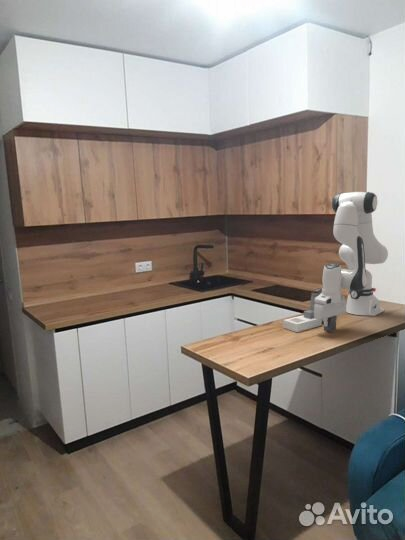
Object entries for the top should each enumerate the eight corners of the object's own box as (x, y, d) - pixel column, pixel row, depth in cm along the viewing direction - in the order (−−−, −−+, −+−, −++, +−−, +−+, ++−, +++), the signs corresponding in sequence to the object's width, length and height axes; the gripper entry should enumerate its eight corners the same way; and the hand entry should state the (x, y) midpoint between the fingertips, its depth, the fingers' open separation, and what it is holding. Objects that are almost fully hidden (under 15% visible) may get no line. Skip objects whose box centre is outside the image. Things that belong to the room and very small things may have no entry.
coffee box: (316, 316, 223) (317, 287, 221) (327, 319, 219) (329, 289, 217) (309, 320, 216) (310, 290, 214) (320, 322, 212) (322, 292, 210)
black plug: (329, 328, 203) (329, 314, 202) (335, 330, 200) (336, 316, 198) (323, 330, 201) (324, 316, 199) (330, 332, 197) (331, 318, 196)
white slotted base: (307, 321, 215) (307, 308, 214) (321, 325, 208) (321, 312, 207) (283, 327, 205) (283, 314, 204) (296, 332, 198) (297, 318, 196)
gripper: (339, 293, 206) (338, 320, 208) (312, 299, 194) (311, 327, 196) (350, 295, 201) (348, 322, 203) (322, 301, 189) (321, 330, 191)
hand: (330, 325), depth 200 cm, fingers closed on black plug, 4 cm apart
